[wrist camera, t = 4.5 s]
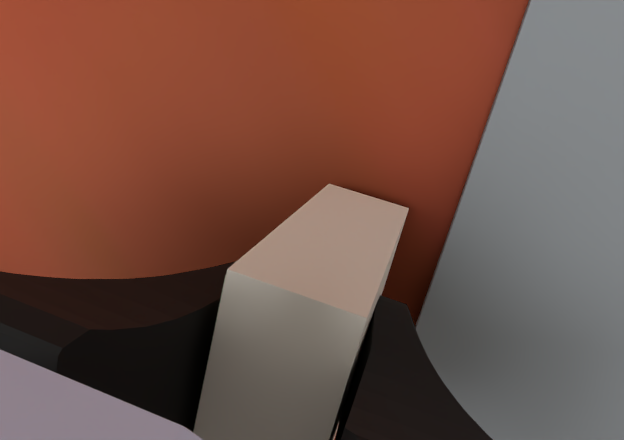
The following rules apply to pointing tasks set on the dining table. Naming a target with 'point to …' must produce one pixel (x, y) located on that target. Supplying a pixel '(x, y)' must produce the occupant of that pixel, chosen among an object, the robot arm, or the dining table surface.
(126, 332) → the robot arm
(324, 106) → the dining table surface
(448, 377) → the mat
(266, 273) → the block
